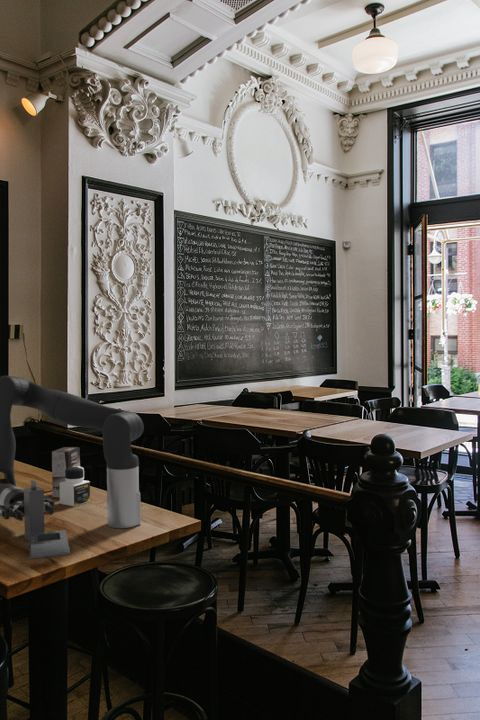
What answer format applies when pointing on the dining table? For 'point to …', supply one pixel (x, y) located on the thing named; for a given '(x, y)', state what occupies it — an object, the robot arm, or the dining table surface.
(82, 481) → the medicine bottle
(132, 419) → the robot arm
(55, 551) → the socket
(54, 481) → the coffee box
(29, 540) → the plug
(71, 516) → the dining table surface
